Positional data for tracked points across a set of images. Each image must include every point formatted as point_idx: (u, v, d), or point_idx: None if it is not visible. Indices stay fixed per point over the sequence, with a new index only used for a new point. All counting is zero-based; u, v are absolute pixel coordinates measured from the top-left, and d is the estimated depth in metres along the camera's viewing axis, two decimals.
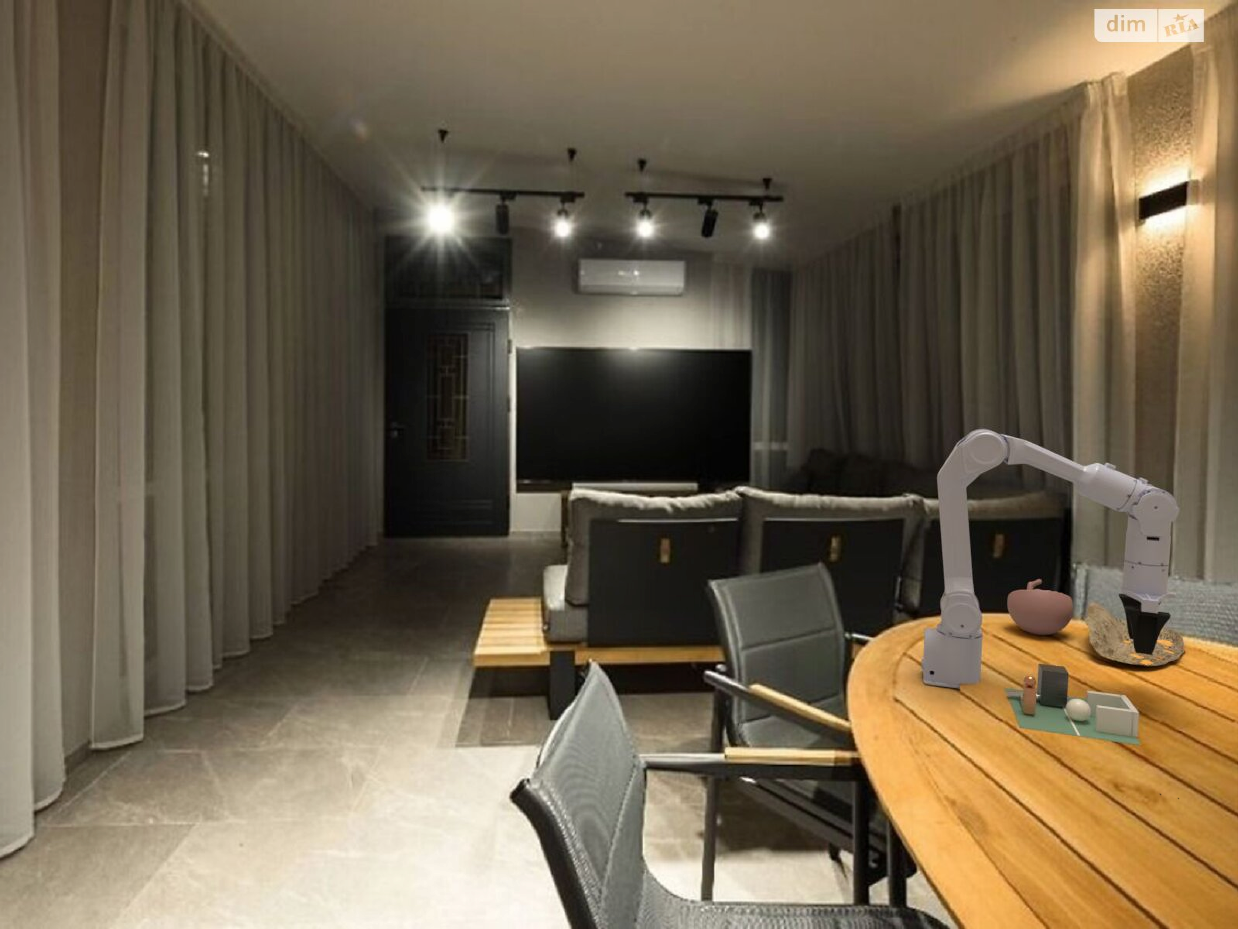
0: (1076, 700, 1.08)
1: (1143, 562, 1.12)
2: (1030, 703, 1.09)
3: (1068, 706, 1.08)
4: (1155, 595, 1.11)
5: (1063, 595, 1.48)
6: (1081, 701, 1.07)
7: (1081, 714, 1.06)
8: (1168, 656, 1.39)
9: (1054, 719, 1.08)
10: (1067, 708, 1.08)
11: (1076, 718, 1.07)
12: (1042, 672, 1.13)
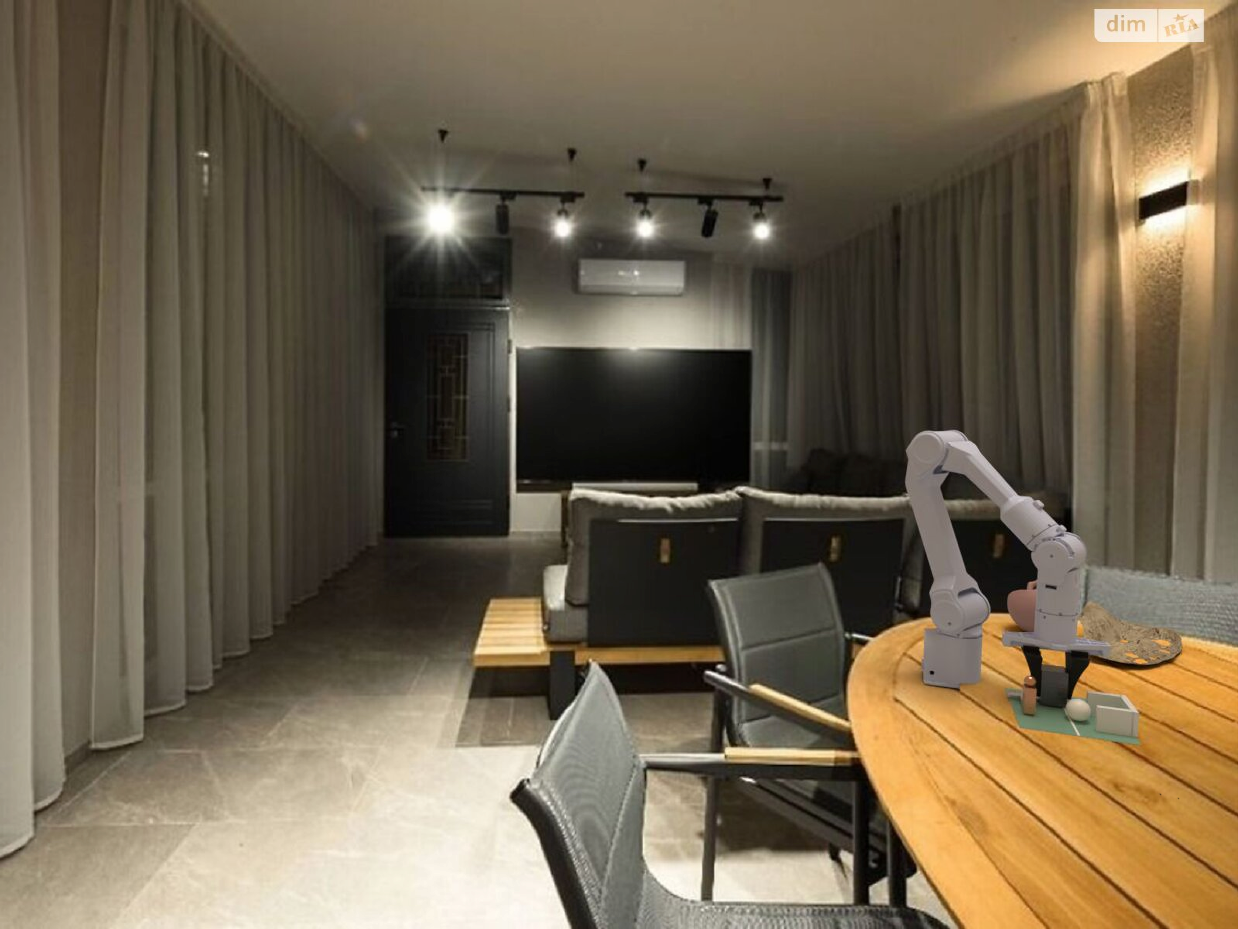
0: (1076, 700, 1.08)
1: (1042, 610, 1.12)
2: (1030, 703, 1.09)
3: (1068, 706, 1.08)
4: (1036, 639, 1.13)
5: None
6: (1081, 701, 1.07)
7: (1081, 714, 1.06)
8: (1163, 656, 1.39)
9: (1054, 719, 1.08)
10: (1067, 708, 1.08)
11: (1076, 718, 1.07)
12: (1042, 672, 1.13)
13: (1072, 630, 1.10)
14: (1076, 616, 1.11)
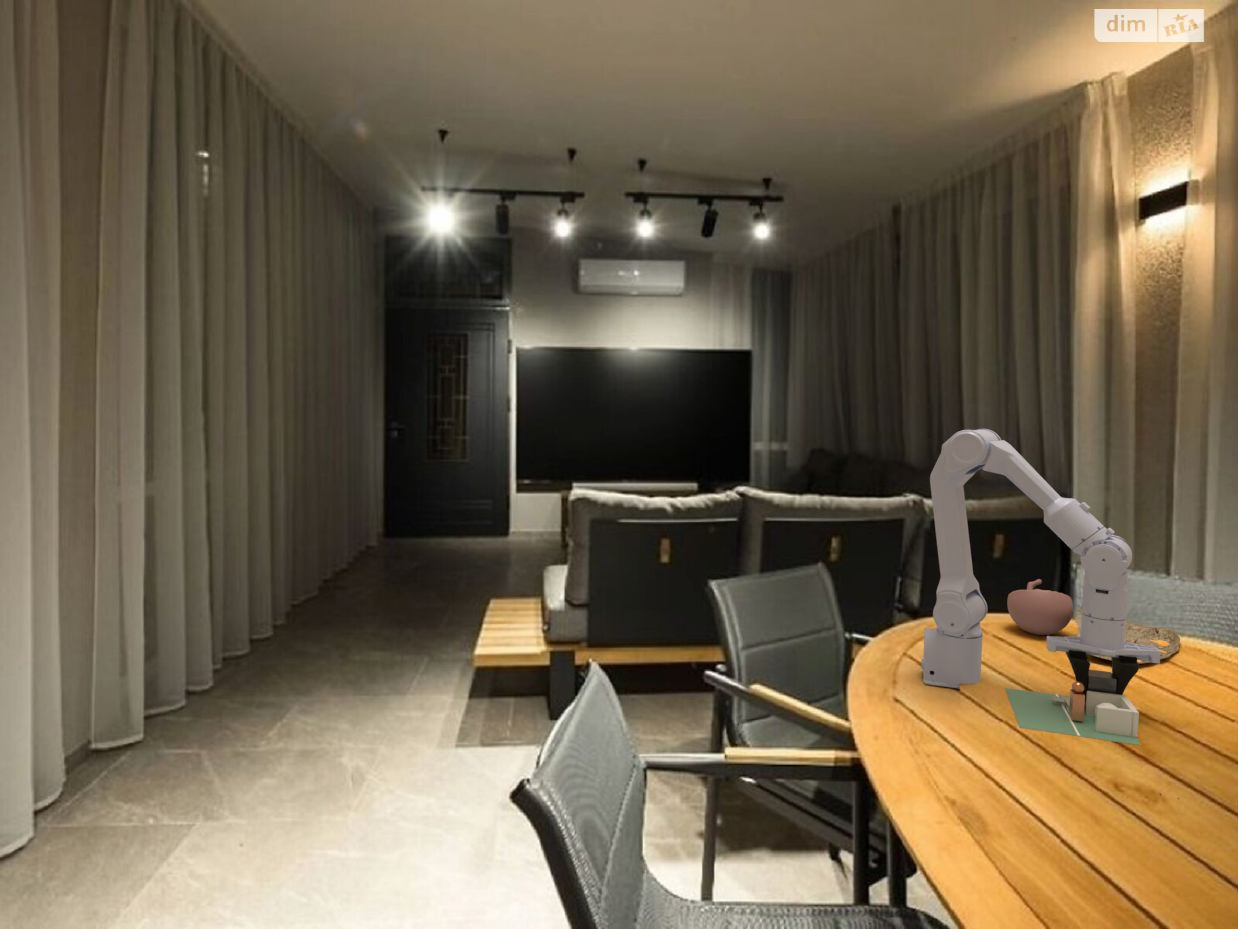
0: None
1: (1092, 615, 1.09)
2: (1078, 710, 1.07)
3: None
4: (1082, 644, 1.11)
5: (1063, 595, 1.48)
6: None
7: None
8: None
9: (1054, 719, 1.08)
10: None
11: None
12: (1089, 677, 1.11)
13: (1121, 635, 1.08)
14: (1125, 621, 1.08)
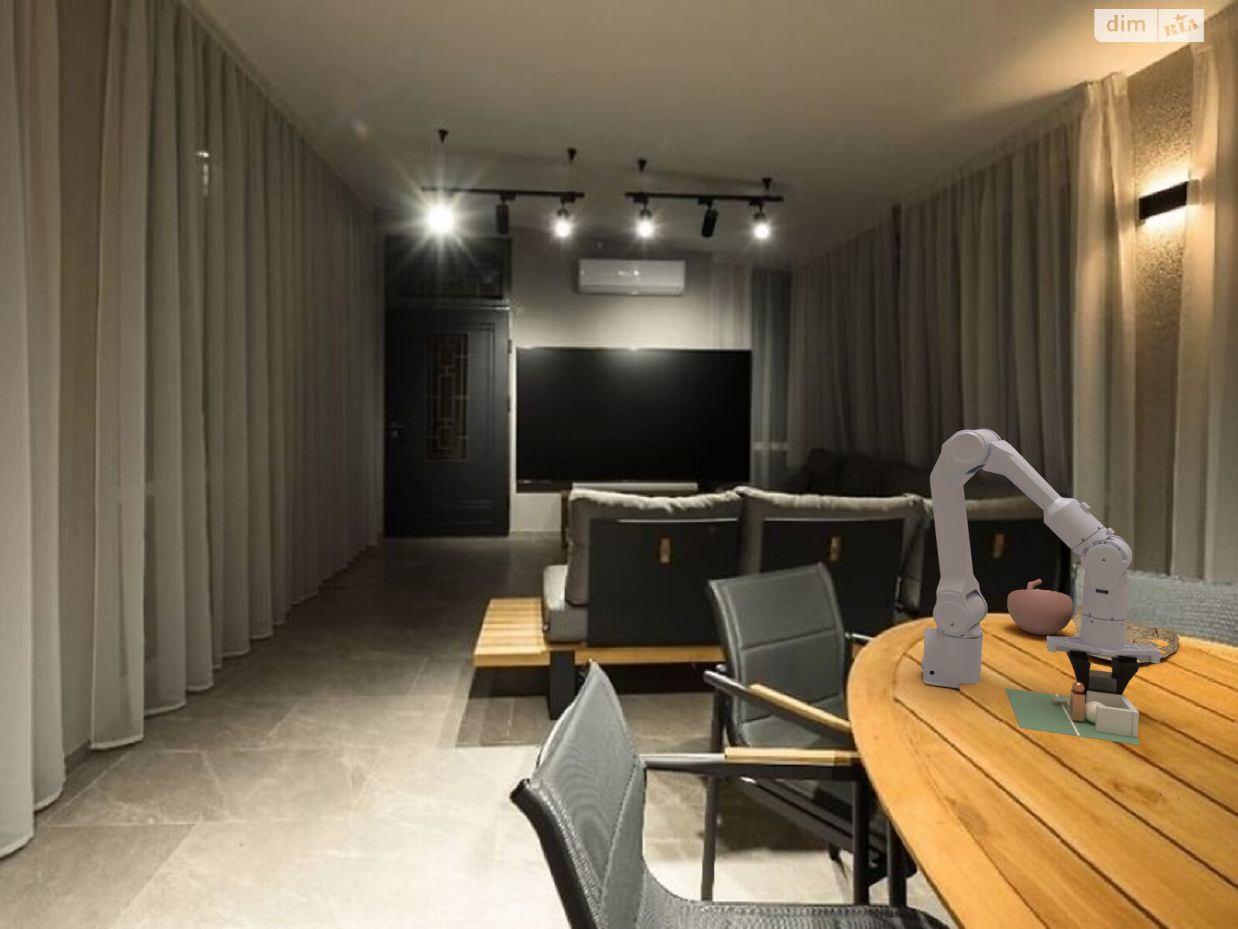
0: None
1: (1092, 615, 1.09)
2: (1079, 710, 1.07)
3: (1099, 704, 1.07)
4: (1082, 644, 1.11)
5: (1063, 595, 1.48)
6: None
7: None
8: None
9: (1054, 719, 1.08)
10: (1095, 703, 1.07)
11: (1090, 713, 1.06)
12: (1090, 678, 1.11)
13: (1121, 635, 1.08)
14: (1125, 621, 1.08)
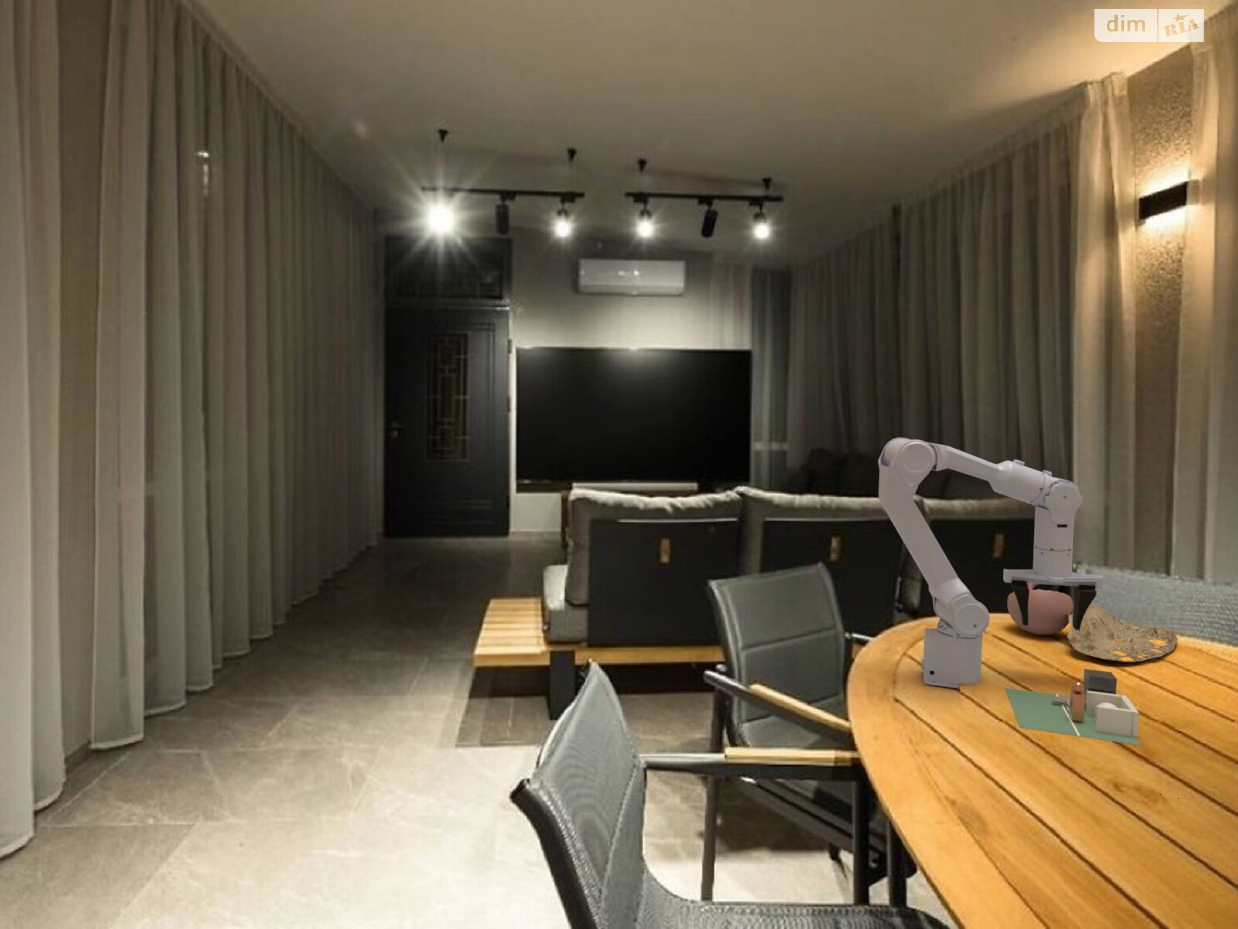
0: None
1: (1055, 548, 1.20)
2: (1078, 710, 1.07)
3: None
4: (1034, 574, 1.23)
5: (1064, 595, 1.48)
6: None
7: None
8: (1152, 654, 1.39)
9: (1054, 719, 1.08)
10: None
11: None
12: (1089, 677, 1.11)
13: (1068, 564, 1.20)
14: (1071, 551, 1.20)
